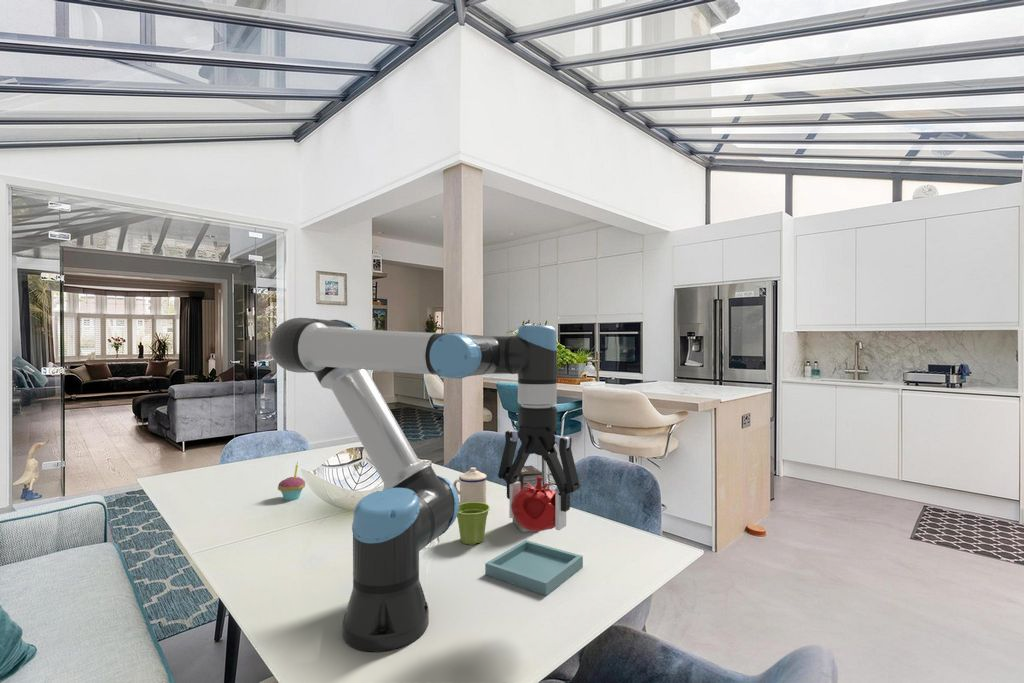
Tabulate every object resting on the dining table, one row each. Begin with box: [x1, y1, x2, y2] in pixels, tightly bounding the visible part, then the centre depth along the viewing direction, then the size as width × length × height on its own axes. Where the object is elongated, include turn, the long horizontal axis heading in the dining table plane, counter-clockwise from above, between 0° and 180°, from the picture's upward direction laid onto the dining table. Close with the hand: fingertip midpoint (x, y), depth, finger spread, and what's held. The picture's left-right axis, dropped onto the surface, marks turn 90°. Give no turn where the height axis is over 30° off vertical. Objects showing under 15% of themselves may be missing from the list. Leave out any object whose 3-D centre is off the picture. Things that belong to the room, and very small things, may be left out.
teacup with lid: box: [452, 467, 488, 504], centre depth 157 cm, size 12×9×12 cm
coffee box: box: [512, 465, 544, 533], centre depth 137 cm, size 9×6×16 cm
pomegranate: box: [511, 476, 558, 532], centre depth 92 cm, size 10×10×9 cm
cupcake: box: [277, 461, 306, 501], centre depth 163 cm, size 9×8×12 cm
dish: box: [484, 540, 584, 597], centre depth 109 cm, size 16×16×2 cm
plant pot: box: [456, 502, 491, 546], centre depth 126 cm, size 9×9×9 cm
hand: (537, 521), depth 92 cm, fingers closed on pomegranate, 10 cm apart
